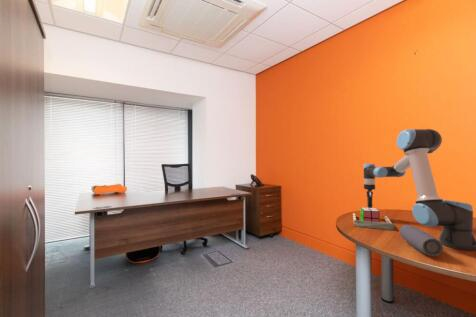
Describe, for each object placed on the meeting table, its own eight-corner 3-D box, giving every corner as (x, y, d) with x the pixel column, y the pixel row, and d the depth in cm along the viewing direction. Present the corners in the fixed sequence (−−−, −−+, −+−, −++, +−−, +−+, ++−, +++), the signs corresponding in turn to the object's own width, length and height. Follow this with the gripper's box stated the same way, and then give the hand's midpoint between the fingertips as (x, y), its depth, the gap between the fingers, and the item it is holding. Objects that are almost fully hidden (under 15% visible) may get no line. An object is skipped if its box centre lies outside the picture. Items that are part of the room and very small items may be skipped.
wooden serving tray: (394, 230, 149) (394, 224, 149) (354, 226, 158) (354, 220, 158) (386, 219, 176) (386, 213, 176) (352, 216, 186) (352, 211, 186)
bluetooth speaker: (444, 259, 106) (444, 237, 106) (421, 258, 108) (421, 236, 108) (417, 242, 128) (417, 224, 128) (398, 241, 130) (398, 223, 130)
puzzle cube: (379, 225, 159) (379, 211, 159) (363, 224, 162) (363, 210, 162) (375, 222, 169) (375, 208, 169) (360, 221, 172) (360, 207, 172)
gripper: (363, 183, 185) (363, 212, 185) (364, 184, 174) (365, 216, 173) (374, 183, 182) (374, 213, 182) (376, 185, 170) (376, 217, 170)
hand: (369, 214), depth 178 cm, fingers closed
